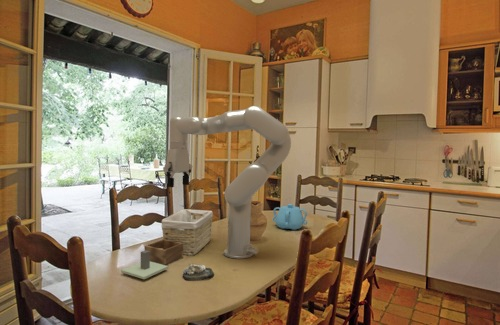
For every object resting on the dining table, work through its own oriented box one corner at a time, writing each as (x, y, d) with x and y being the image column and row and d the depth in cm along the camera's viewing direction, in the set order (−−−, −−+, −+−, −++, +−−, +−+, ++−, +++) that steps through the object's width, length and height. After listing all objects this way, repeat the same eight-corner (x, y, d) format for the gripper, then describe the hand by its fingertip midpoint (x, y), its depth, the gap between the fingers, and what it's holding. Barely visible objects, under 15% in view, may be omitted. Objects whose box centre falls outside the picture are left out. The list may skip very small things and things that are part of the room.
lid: (168, 271, 117) (168, 250, 117) (144, 282, 107) (144, 259, 107) (145, 265, 123) (146, 244, 122) (121, 275, 113) (121, 253, 112)
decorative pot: (282, 232, 172) (283, 207, 171) (270, 225, 187) (271, 202, 186) (309, 230, 178) (310, 206, 177) (295, 223, 193) (295, 201, 192)
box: (183, 257, 131) (183, 243, 130) (164, 266, 122) (164, 250, 121) (163, 253, 136) (163, 239, 136) (144, 260, 127) (144, 245, 126)
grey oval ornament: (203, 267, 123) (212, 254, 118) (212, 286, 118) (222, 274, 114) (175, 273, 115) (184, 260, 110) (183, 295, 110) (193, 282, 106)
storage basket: (195, 257, 132) (195, 222, 131) (159, 253, 135) (159, 219, 134) (213, 240, 155) (214, 210, 155) (182, 237, 159) (182, 208, 158)
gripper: (185, 146, 147) (184, 183, 148) (157, 145, 132) (157, 187, 133) (198, 146, 143) (197, 184, 144) (171, 146, 128) (170, 188, 129)
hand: (178, 185), depth 139 cm, fingers open, 9 cm apart
